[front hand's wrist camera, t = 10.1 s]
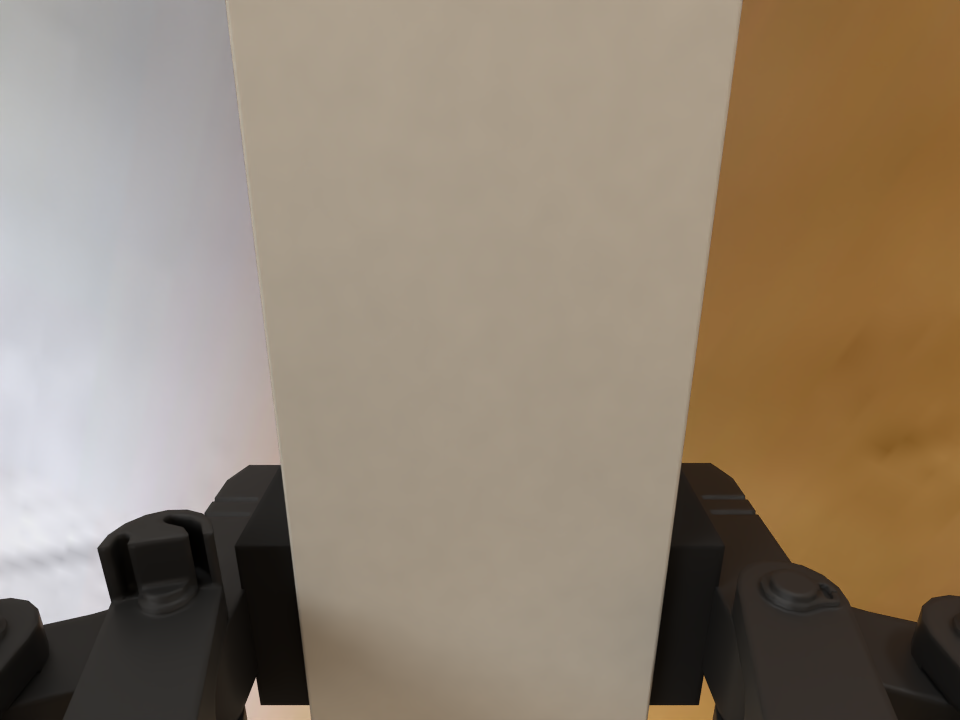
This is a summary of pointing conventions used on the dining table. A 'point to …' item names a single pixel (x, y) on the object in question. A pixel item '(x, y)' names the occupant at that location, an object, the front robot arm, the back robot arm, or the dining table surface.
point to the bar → (481, 334)
